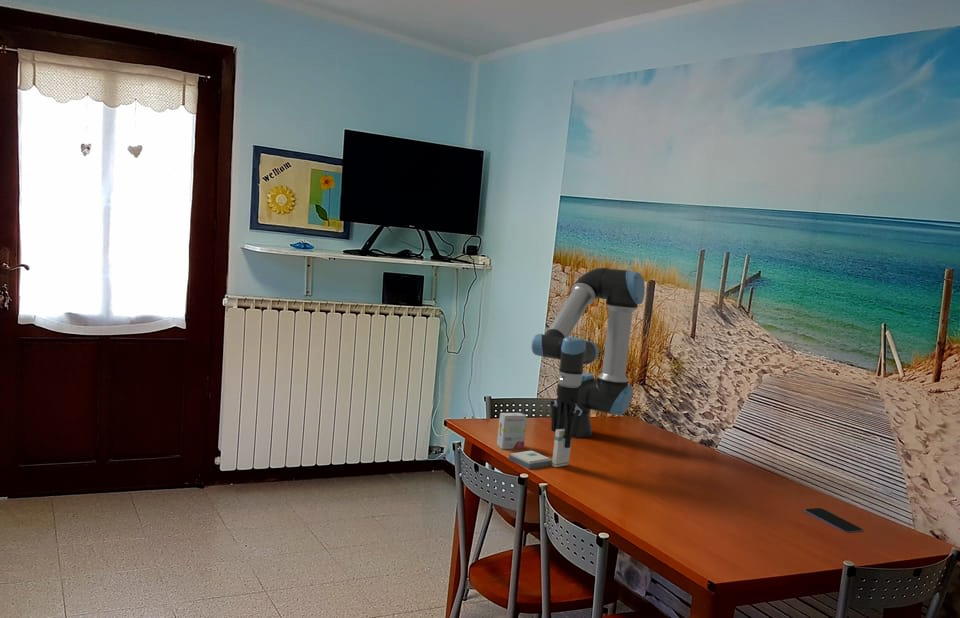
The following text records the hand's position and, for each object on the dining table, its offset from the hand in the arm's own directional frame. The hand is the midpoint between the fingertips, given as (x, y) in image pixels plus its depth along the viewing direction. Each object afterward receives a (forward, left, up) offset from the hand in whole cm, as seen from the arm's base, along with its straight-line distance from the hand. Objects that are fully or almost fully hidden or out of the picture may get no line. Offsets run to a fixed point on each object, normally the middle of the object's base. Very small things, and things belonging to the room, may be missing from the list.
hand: (561, 455), depth 230 cm
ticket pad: (+8, -6, -3) cm, 10 cm away
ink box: (+3, -22, -4) cm, 23 cm away
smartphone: (-44, +68, -4) cm, 81 cm away
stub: (0, 0, -3) cm, 3 cm away
